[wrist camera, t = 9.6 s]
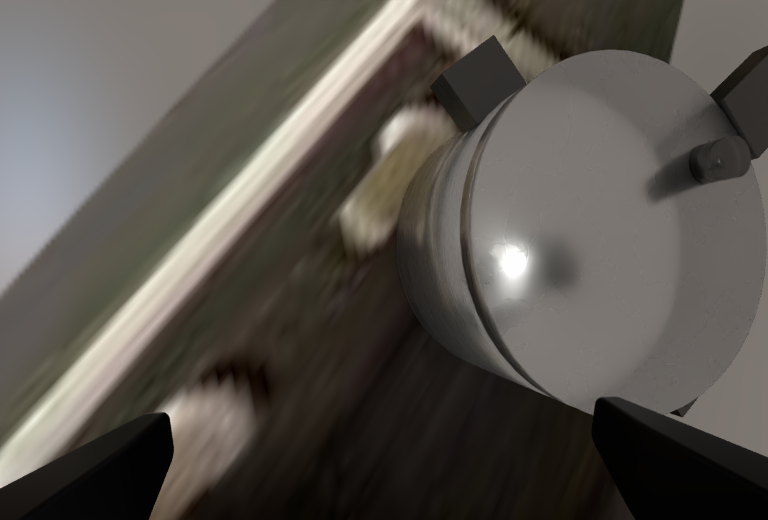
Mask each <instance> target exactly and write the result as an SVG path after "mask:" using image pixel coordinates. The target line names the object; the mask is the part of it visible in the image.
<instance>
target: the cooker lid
mask: <svg viewBox="0 0 768 520" xmlns="http://www.w3.org/2000/svg"><path fill="white" fill-rule="evenodd" d="M767 148H768V46H766V47H763V48H762V49H759V50H757V51H755V52H753V53H752V54H751V55H750V56H749V57H748V58H747V59H746V60H745V61H744V62H743V63H742V64H741V65H740V66H739V67H738V68H737V69H735V70H734V71H733V72H732V73H731V74H730V75H729V76H728V77H727V79H725V80H724V81H723V82H722V83H721V84H720V85H719V86H718V87H717V88H716V89H715V90H714V91H713V92H712V93H711V94H710V95H709V94H707V92H705V91H704V90H703V89H702V88H701V87H700V86H699V85H698V84H697V83H696V82H695V81H693V80H692V79H691V78H689V77H688V76H687V75H685V74H684V73H683V72H681V71H679V70H678V69H676V68H674V67H672V66H671V65H669V64H667V63H665V62H663V61H661V60H658V59H656V58H653V57H651V56H648V55H644V54H640V53H636V52H631V51H623V50H601V51H591V52H587V53H583V54H580V55H576V56H572V57H570V58H568V59H566V60H564V61H561V62H559V63H557V64H555V65H553V66H552V67H550V68H549V69H547V70H546V71H544V72H543V73H541V74H540V75H538V76H537V77H536V78H534V79H533V80H531V81H530V82H529V83H527V84H526V85H524V86H523V87H522V88H520V89H519V90H518V91H517V92H516V93H515V94H514V95H513V96H512V97H510V98H509V99H508V100H507V101H506V102H505V103H504V104H503V105H502V107H501V108H500V109H499V111H498V112H497V113H496V114H495V116H494V117H493V118H492V120H491V121H490V122H489V124H488V126H487V128H486V129H485V131H484V133H483V135H482V136H481V138H480V140H479V142H478V144H477V147H476V149H475V152H474V154H473V156H472V159H471V161H470V164H469V168H468V172H467V176H466V179H465V183H464V187H463V194H462V202H461V209H460V245H461V255H462V264H463V268H464V273H465V277H466V281H467V286H468V290H469V292H470V295H471V298H472V301H473V304H474V307H475V309H476V312H477V314H478V316H479V318H480V320H481V322H482V324H483V326H484V328H485V330H486V332H487V334H488V336H489V337H490V339H491V340H492V342H493V343H494V345H495V346H496V348H497V349H498V351H499V352H500V354H501V355H502V356H503V357H504V358H505V359H506V361H507V362H508V363H509V364H510V365H511V366H512V367H513V369H514V370H515V371H516V372H517V373H518V374H520V375H521V376H522V377H523V378H524V379H525V380H527V381H528V382H529V383H530V384H531V385H532V386H534V387H535V388H537V389H538V390H540V391H542V392H543V393H545V394H546V395H548V396H550V397H551V398H554V399H556V400H558V401H561V402H563V403H565V404H567V405H570V406H572V407H575V408H577V409H579V410H582V411H584V412H586V413H589V414H592V415H593V414H594V406H595V402H596V400H597V399H598V398H599V397H610V396H616V397H620V398H623V399H625V400H628V401H630V402H632V403H635V404H637V405H640V406H642V407H645V408H647V409H650V410H652V411H655V412H657V413H660V414H662V415H664V414H668V413H670V412H672V411H674V410H676V409H679V408H681V407H683V406H685V405H687V404H688V403H690V402H691V401H693V400H694V399H696V398H697V397H699V396H700V395H702V394H703V393H704V392H705V391H706V390H707V389H708V388H709V387H711V386H712V385H713V384H714V383H715V382H716V381H717V380H718V379H719V378H720V376H721V375H722V374H723V373H724V372H725V371H726V370H727V368H728V367H729V366H730V364H731V362H732V361H733V360H734V358H735V357H736V355H737V354H738V352H739V351H740V349H741V347H742V345H743V343H744V341H745V339H746V337H747V335H748V333H749V330H750V328H751V325H752V322H753V320H754V317H755V314H756V311H757V308H758V304H759V300H760V297H761V292H762V286H763V281H764V274H765V263H766V229H765V228H766V227H765V218H764V210H763V204H762V200H761V194H760V190H759V186H758V182H757V179H756V176H755V173H754V169H753V166H752V164H751V160H752V159H756V158H759V157H760V155H761V154H762V153H763V152H764V151H765V150H766V149H767Z"/></svg>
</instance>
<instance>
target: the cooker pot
mask: <svg viewBox="0 0 768 520" xmlns="http://www.w3.org/2000/svg"><path fill="white" fill-rule="evenodd" d="M524 85H526V82H525V81H524V79H523V78H522V76H521V75H520V73H519V72H518V70H517V69H516V67H515V66H514V64H513V63H512V61H511V60H510V58H509V57H508V55H507V54H506V52H505V51H504V49H503V48H502V46H501V45H500V43H499V42H498V40H497V39H496V37H495V36H494V35H493V36H492V37H490V38H489V39H487V40H486V41H485V42H483V43H482V44H481V45H479V46H478V47H477V48H475V49H474V50H473V51H471V52H470V53H469V54H467V55H466V56H465V57H463V58H462V59H460V60H459V61H458V62H456V63H455V64H454V65H452V66H451V67H450V68H448V69H447V70H446V71H444V72H443V73H442V74H441V75H440V76H439V77H438V78H437V79H436V80H435V82H434V83H433V84H432V85H431V86H430V88H431V89H432V91H433V92H434V94H435V95H436V97H437V98H438V99H439V101H440V102H441V104H442V105H443V106H444V108H445V109H446V111H447V112H448V113H449V115H450V116H451V118H452V119H453V120H454V122H455V123H456V125H457V126H458V128H459V129H460V130H461V132H459V133H458V134H457V135H455V136H454V137H452V138H451V139H450V140H448V141H447V142H446V143H444V144H443V145H441V146H440V147H439V148H438V149H437V150H435V151H434V152H433V153H432V154H431V155H430V156H429V157H428V158H427V159H426V161H425V162H424V163H423V164H422V165H421V167H420V168H419V169H418V171H417V172H416V174H415V176H414V177H413V179H412V181H411V182H410V184H409V186H408V189H407V191H406V193H405V196H404V198H403V201H402V205H401V208H400V212H399V215H398V222H397V228H396V249H395V250H396V260H397V268H398V272H399V277H400V281H401V285H402V288H403V290H404V293H405V296H406V299H407V301H408V303H409V305H410V307H411V309H412V311H413V313H414V315H415V316H416V318H417V319H418V320H419V322H420V323H421V325H422V326H423V328H424V329H425V330H426V331H427V332H428V333H429V335H430V336H431V337H432V338H433V339H434V340H435V341H436V342H437V343H438V344H440V345H441V346H442V347H443V348H444V349H446V350H447V351H448V352H450V353H451V354H453V355H455V356H456V357H458V358H460V359H461V360H464V361H466V362H468V363H471V364H473V365H475V366H478V367H480V368H482V369H485V370H487V371H489V372H492V373H494V374H497V375H499V376H501V377H504V378H506V379H508V380H511V381H513V382H515V383H518V384H520V385H523V386H525V387H527V388H530V389H532V390H534V391H537V392H539V393H541V394H544V395H546V394H545V393H543V392H542V391H540V390H538V389H537V388H535V387H534V386H532V385H531V384H530V383H529V382H528V381H527V380H525V379H524V378H523V377H522V376H521V375H520V374H518V373H517V372H516V371H515V370H514V369H513V367H512V366H511V365H510V364H509V363H508V362H507V361H506V359H505V358H504V357H503V356H502V355H501V354H500V352H499V351H498V349H497V348H496V346H495V345H494V343H493V342H492V340H491V339H490V337H489V336H488V334H487V332H486V330H485V328H484V326H483V324H482V322H481V320H480V318H479V316H478V314H477V312H476V309H475V307H474V304H473V301H472V298H471V295H470V292H469V290H468V286H467V281H466V277H465V273H464V268H463V264H462V255H461V245H460V209H461V202H462V194H463V187H464V183H465V179H466V176H467V172H468V168H469V164H470V161H471V159H472V156H473V154H474V152H475V149H476V147H477V144H478V142H479V140H480V138H481V136H482V135H483V133H484V131H485V129H486V128H487V126H488V124H489V122H490V121H491V120H492V118H493V117H494V116H495V114H496V113H497V112H498V111H499V109H500V108H501V107H502V105H503V104H504V103H505V102H506V101H507V100H508V99H509V98H510V97H512V96H513V95H514V94H515V93H516V92H517V91H518V90H519V89H520V88H522V87H523V86H524ZM546 396H548V395H546ZM549 397H550V396H549ZM697 398H698V397H697ZM697 398H696V399H694V400H693V401H691V402H690V403H688V404H687V405H685V406H683V407H681V408H679V409H676V410H674V411H672V412H670V413H671V414H674V415H677V416H680V417H683V416H684V415H685V414H686V412H687V411H688V410H689V409H690V407H691V406H692V405H693V404H694V402H695V401H696V400H697ZM553 399H554V398H553ZM560 402H561V401H560Z"/></svg>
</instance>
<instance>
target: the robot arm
mask: <svg viewBox="0 0 768 520" xmlns="http://www.w3.org/2000/svg"><path fill="white" fill-rule="evenodd" d="M592 439H593V442H594V444H595V446H596V448H597V450H598V452H599V454H600V455H601V457H602V459H603V461H604V463H605V465H606V467H607V469H608V471H609V473H610V474H611V476H612V478H613V480H614V482H615V484H616V486H617V488H618V490H619V492H620V493H621V495H622V497H623V499H624V501H625V503H626V505H627V506H628V508H629V510H630V512H631V513H632V515H633V516H634V518H635V520H768V457H766V456H763V455H761V454H758V453H756V452H753V451H751V450H748V449H746V448H743V447H741V446H739V445H736V444H733V443H731V442H729V441H726V440H724V439H721V438H719V437H716V436H714V435H711V434H709V433H706V432H704V431H702V430H699V429H697V428H694V427H692V426H689V425H687V424H684V423H682V422H679V421H677V420H674V419H672V418H669V417H667V416H664V415H662V414H660V413H657V412H655V411H652V410H650V409H647V408H645V407H642V406H640V405H637V404H635V403H632V402H630V401H628V400H625V399H623V398H620V397H616V396H610V397H599V398H598V399H597V400H596V402H595V406H594V414H593V422H592ZM173 453H174V445H173V438H172V431H171V423H170V418H169V416H168V414H166V413H164V412H158V413H145V414H143V415H141V416H139V417H137V418H135V419H133V420H131V421H129V422H127V423H125V424H123V425H122V426H120V427H118V428H116V429H114V430H112V431H110V432H108V433H106V434H104V435H102V436H100V437H98V438H97V439H95V440H93V441H91V442H89V443H87V444H85V445H83V446H81V447H79V448H77V449H75V450H73V451H72V452H70V453H68V454H66V455H64V456H62V457H60V458H58V459H56V460H54V461H52V462H50V463H48V464H47V465H45V466H43V467H41V468H39V469H37V470H35V471H33V472H31V473H29V474H27V475H25V476H23V477H22V478H20V479H18V480H16V481H14V482H12V483H10V484H8V485H6V486H4V487H2V488H0V520H149V517H150V515H151V512H152V510H153V507H154V505H155V502H156V500H157V497H158V495H159V492H160V490H161V487H162V484H163V482H164V479H165V477H166V474H167V472H168V469H169V467H170V464H171V462H172V458H173Z"/></svg>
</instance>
